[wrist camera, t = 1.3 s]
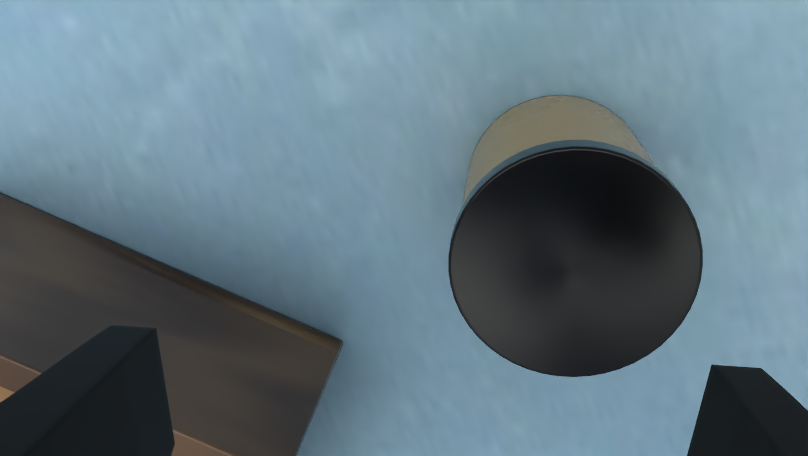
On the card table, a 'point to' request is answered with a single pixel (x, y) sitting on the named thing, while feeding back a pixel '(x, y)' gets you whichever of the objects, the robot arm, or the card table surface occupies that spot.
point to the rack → (159, 335)
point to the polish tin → (571, 242)
